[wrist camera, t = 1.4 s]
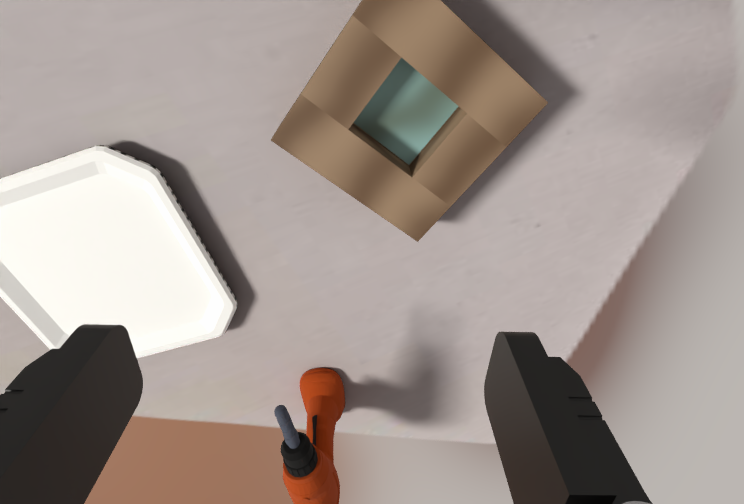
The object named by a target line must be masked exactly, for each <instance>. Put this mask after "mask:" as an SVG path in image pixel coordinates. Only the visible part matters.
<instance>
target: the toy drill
mask: <svg viewBox="0 0 744 504" xmlns="http://www.w3.org/2000/svg"><path fill="white" fill-rule="evenodd" d="M300 391H301V395H302V398H303V402H304V405H305V409H306V412H307V434H304V433H301V432H297V431H296V429H295V428H294V425H293V423H292V420H291V418H290V416H289V413H288V411H287V409H286V407H285V406H284V405H279V406H277V407H276V408H275V416H276V417H277V420H278V423H279V425H280V427H281V430H282V432H283V436H284V441H283V442H282V445H281V453H282V456H283V460H284V463H283V468H284V470H283V480H284V483H285V485H286V487H287V490H288V492H289V495H290V497H291V499H292V501H293V503H294V504H339V494H340V485H339V479H338V475H337V471H336V469H335V467H334V464H333V436H334V430H335V425H336V422H337V421H338V420H339V419H340V417H341V415H342V412H343V410H344V407H345V394H344V387H343V383H342V380H341V378H340V376H339V375H338V374H337V373H336V372H335V371H334V370H332V369H328V368H315V369H311V370H308V371H307V372H305V373H304V374H303V375H302V377H301V380H300Z"/></svg>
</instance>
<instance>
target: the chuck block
mask: <svg viewBox="0 0 744 504" xmlns="http://www.w3.org/2000/svg"><path fill="white" fill-rule="evenodd" d="M547 103H548V102H547V101H546V100H545V99H544V98H543V97H542V96H541V95H540V94H539V93H538V92H537V91H535V90H534V89H533V88H532V87H531V86H530V85H529V84H528V83H527V82H526V81H525V80H524V79H523V78H522V77H521V76H520V75H519V74H518V73H517V72H515V71H514V70H513V69H512V68H511V67H510V66H509V65H508V64H507V63H506V62H505V61H504V60H503V59H502V58H501V57H500V56H499V55H498V54H497V53H495V52H494V51H493V50H492V49H491V48H490V47H489V46H488V45H487V44H486V43H485V42H484V41H483V40H482V39H481V38H480V37H479V36H478V35H477V34H475V33H474V32H473V31H472V30H471V29H470V28H469V27H468V26H467V25H466V24H465V23H464V22H463V21H462V20H461V19H460V18H459V17H458V16H457V15H455V14H454V13H453V12H452V11H451V10H450V9H449V8H448V7H447V6H446V5H445V4H444V3H443V2H442V1H441V0H362V1H361V3H360V4H359V6H358V7H357V9H356V10H355V12H354V13H353V15H352V16H351V18H350V19H349V21H348V22H347V24H346V25H345V27H344V28H343V30H342V32H341V33H340V35H339V36H338V38H337V39H336V41H335V42H334V44H333V45H332V47H331V48H330V50H329V51H328V53H327V54H326V56H325V57H324V59H323V60H322V62H321V63H320V65H319V67H318V68H317V70H316V71H315V73H314V74H313V76H312V77H311V79H310V80H309V82H308V83H307V85H306V86H305V88H304V89H303V91H302V92H301V94H300V95H299V97H298V98H297V100H296V102H295V103H294V105H293V106H292V108H291V109H290V111H289V112H288V114H287V115H286V117H285V118H284V120H283V121H282V123H281V124H280V126H279V128H278V129H277V131H276V132H275V134H274V136H273V137H272V139H271V141H273V142H274V143H276V144H277V145H278V146H280V147H281V148H283V149H284V150H286V151H287V152H289V153H290V154H291V155H293V156H294V157H296V158H297V159H299V160H300V161H302V162H303V163H304V164H306V165H307V166H309V167H310V168H312V169H313V170H315V171H316V172H318V173H319V174H320V175H322V176H323V177H325V178H326V179H328V180H329V181H331V182H332V183H333V184H335V185H336V186H338V187H339V188H341V189H342V190H344V191H345V192H346V193H348V194H349V195H351V196H352V197H354V198H355V199H357V200H358V201H359V202H361V203H362V204H364V205H365V206H367V207H368V208H370V209H371V210H373V211H374V212H375V213H377V214H378V215H380V216H381V217H383V218H384V219H386V220H387V221H388V222H390V223H391V224H393V225H394V226H396V227H397V228H399V229H400V230H401V231H403V232H404V233H406V234H407V235H409V236H410V237H412V238H413V239H414V240H416V241H417V242H418V241H419V240H420V239H421V238H422V237H423V236H424V234H425V233H426V232H427V231H428V230H429V229H430V228H431V227H432V226H433V225H434V224H435V223H436V222H437V221H438V220H439V218H440V217H441V216H442V215H443V214H444V213H445V212H446V211H447V210H448V209H449V208H450V207H451V206H452V205H453V204H454V202H455V201H456V200H457V199H458V198H459V197H460V196H461V195H462V194H463V193H464V192H465V191H466V190H467V189H468V188H469V187H470V185H471V184H472V183H473V182H474V181H475V180H476V179H477V178H478V177H479V176H480V175H481V174H482V173H483V172H484V171H485V169H486V168H487V167H488V166H489V165H490V164H491V163H492V162H493V161H494V160H495V159H496V158H497V157H498V156H499V155H500V153H501V152H502V151H503V150H504V149H505V148H506V147H507V146H508V145H509V144H510V143H511V142H512V141H513V140H514V139H515V138H516V136H517V135H518V134H519V133H520V132H521V131H522V130H523V129H524V128H525V127H526V126H527V125H528V124H529V123H530V122H531V120H532V119H533V118H534V117H535V116H536V115H537V114H538V113H539V112H540V111H541V110H542V109H543V108H544V107H545V106H546V104H547Z"/></svg>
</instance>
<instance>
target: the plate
mask: <svg viewBox="0 0 744 504" xmlns="http://www.w3.org/2000/svg"><path fill="white" fill-rule="evenodd" d="M0 297H1V298H2V299H3V300H4V301H5V302H6V303H7V304H8V305H9V306H10V307H11V308H12V309H13V311H14V312H15V313H16V314H17V315H18V316H19V317H20V318H21V319H22V320H23V321H24V322H25V323H26V324H27V325H28V326H29V328H30V329H31V330H32V331H33V332H34V333H35V334H36V335H37V336H38V337H39V338H40V339H41V340H42V341H43V342H44V343H45V344H46V346H47V347H48V348H49V349H50V350H51V349H59V348H60V347H61V346H62V345H63V344H64V342H65V341H66V340H67V339H68V338H69V337H70V335H71V334H72V333H73V332H74V331H75V330H76V329H77V328H78V327H79V326H81V325H84V324H100V325H122V326H124V327H125V328H126V329H127V331H128V334H129V337H130V340H131V343H132V346H133V349H134V352H135V355H136V358H141V357H145V356H149V355H152V354H156V353H160V352H164V351H168V350H171V349H175V348H179V347H183V346H187V345H191V344H194V343H198V342H202V341H206V340H210V339H213V338H217V337H221V336H222V335H223V334H225V333H226V330H227V328H228V326H229V324H230V322H231V320H232V317H233V315H234V313H235V311H236V309H237V299H236V298H235V296H234V294H233V293H232V291H231V289H230V288H229V286H228V284H227V283H226V281H225V279H224V277H223V276H222V274H221V272H220V271H219V269H218V267H217V266H216V264H215V262H214V261H213V259H212V257H211V256H210V254H209V252H208V251H207V249H206V247H205V245H204V244H203V242H202V240H201V239H200V237H199V235H198V234H197V232H196V230H195V229H194V227H193V225H192V224H191V222H190V220H189V218H188V217H187V215H186V213H185V212H184V210H183V208H182V207H181V205H180V203H179V202H178V200H177V198H176V197H175V195H174V193H173V191H172V190H171V188H170V186H169V185H168V183H167V181H166V180H165V178H164V176H163V175H162V173H161V172H160V171H159V170H158V169H157V168H156V167H155V166H153V165H150V164H148V163H146V162H143V161H141V160H139V159H137V158H134V157H132V156H130V155H127V154H125V153H123V152H120V151H118V150H116V149H114V148H111V147H109V146H103V145H96V146H93V147H90V148H87V149H85V150H82V151H79V152H76V153H73V154H70V155H67V156H64V157H61V158H58V159H55V160H52V161H50V162H47V163H44V164H41V165H38V166H35V167H32V168H29V169H26V170H23V171H20V172H18V173H15V174H12V175H9V176H6V177H3V178H0Z"/></svg>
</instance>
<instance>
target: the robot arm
mask: <svg viewBox="0 0 744 504" xmlns="http://www.w3.org/2000/svg"><path fill="white" fill-rule="evenodd" d="M142 388H143V378H142V374H141V370H140V367H139V364H138V361H137V358H136V355H135V352H134V349H133V346H132V343H131V340H130V337H129V334H128V331H127V329H126V328H125V327H124V326H122V325H100V324H84V325H81V326H79V327H78V328H77V329H76V330H75V331H74V332H73V333H72V334H71V335H70V337H69V338H68V339H67V340H66V341H65V342H64V344H63V345H62V346H61V347H60V348H59V349H51V350H50V351H48V352H47V353H45V354H44V355H42V356H41V357H39V358H38V359H37V360H35V361H34V362H32V363H31V364H29V365H28V366H26V367H25V368H24V369H23V370H22V371H21V372H20V374H19V375H18V376H17V377H16V378H15V379H14V380H13V381H12V382H11V384H10V385H9V386H8V387H7V388H6V389H5V393H4V394H1V395H0V504H84V503H85V501H86V499H87V497H88V495H89V493H90V492H91V489H92V488H93V486H94V484H95V483H96V481H97V479H98V477H99V475H100V473H101V471H102V470H103V468H104V466H105V464H106V462H107V460H108V459H109V457H110V455H111V453H112V451H113V450H114V448H115V446H116V444H117V442H118V440H119V439H120V437H121V435H122V433H123V431H124V429H125V427H126V426H127V424H128V422H129V420H130V418H131V417H132V415H133V413H134V411H135V409H136V408H137V406H138V404H139V401H140V398H141V394H142ZM484 396H485V404H486V409H487V413H488V416H489V420H490V423H491V427H492V430H493V433H494V437H495V440H496V444H497V447H498V450H499V454H500V458H501V461H502V464H503V468H504V471H505V475H506V478H507V482H508V485H509V488H510V492H511V496H512V499H513V502H514V504H652V502H651V501H650V500H649V498H648V497H647V495H646V493H645V492H644V490H643V488H642V486H641V485H640V483H639V481H638V479H637V477H636V476H635V474H634V472H633V470H632V469H631V467H630V465H629V463H628V461H627V460H626V458H625V456H624V454H623V452H622V450H621V449H620V447H619V445H618V443H617V442H616V440H615V438H614V436H613V434H612V433H611V431H610V429H609V427H608V425H607V424H606V422H605V421H604V420H602V415H601V413H600V411H599V409H598V407H597V406H596V404H595V402H592V397H591V395H590V393H589V391H588V389H587V388H586V386H585V384H584V382H583V381H582V379H581V377H580V376H579V374H578V373H576V372H575V371H574V370H573V369H572V368H571V367H570V366H569V365H568V364H567V363H566V362H565V361H564V360H563V359H562V358H560V357H548V356H547V354H546V352H545V350H544V348H543V346H542V344H541V342H540V340H539V338H538V336H537V335H536V334H535V333H533V332H499V333H498V334H497V336H496V338H495V342H494V346H493V350H492V354H491V358H490V362H489V366H488V371H487V375H486V379H485V386H484Z"/></svg>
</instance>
